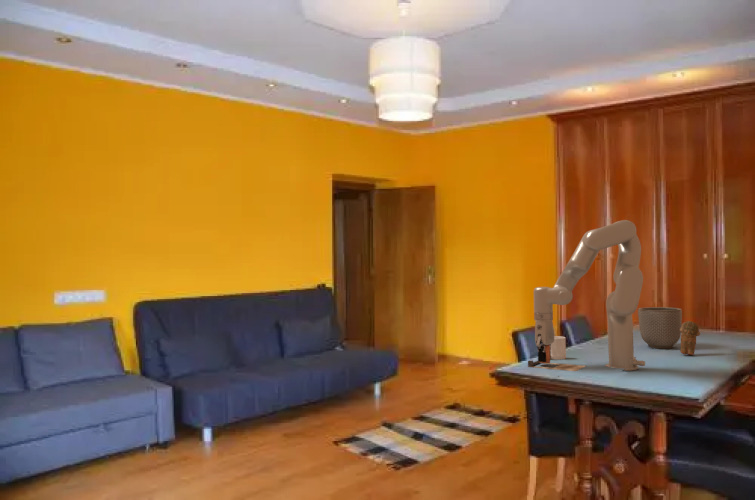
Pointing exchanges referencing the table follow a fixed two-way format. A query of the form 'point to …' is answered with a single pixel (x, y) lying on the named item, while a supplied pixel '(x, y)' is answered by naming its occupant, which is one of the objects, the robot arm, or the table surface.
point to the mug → (558, 348)
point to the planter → (660, 326)
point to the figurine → (688, 337)
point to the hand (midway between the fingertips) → (544, 360)
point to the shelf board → (560, 367)
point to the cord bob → (547, 354)
